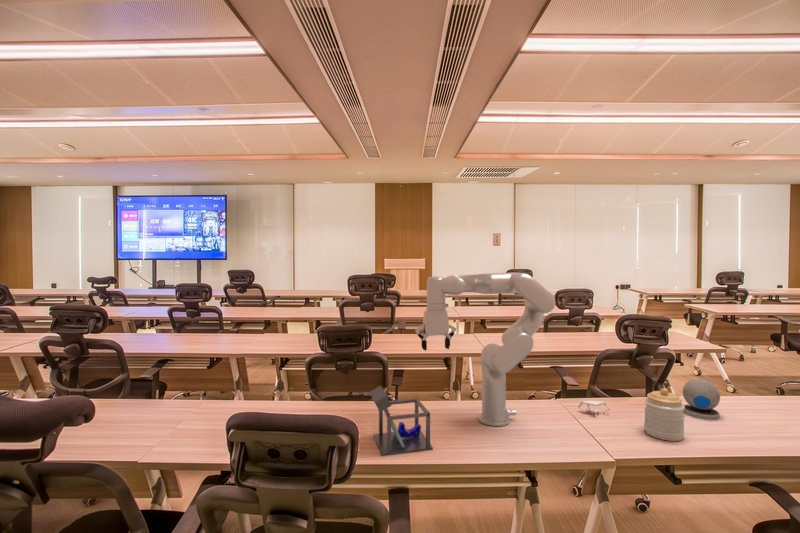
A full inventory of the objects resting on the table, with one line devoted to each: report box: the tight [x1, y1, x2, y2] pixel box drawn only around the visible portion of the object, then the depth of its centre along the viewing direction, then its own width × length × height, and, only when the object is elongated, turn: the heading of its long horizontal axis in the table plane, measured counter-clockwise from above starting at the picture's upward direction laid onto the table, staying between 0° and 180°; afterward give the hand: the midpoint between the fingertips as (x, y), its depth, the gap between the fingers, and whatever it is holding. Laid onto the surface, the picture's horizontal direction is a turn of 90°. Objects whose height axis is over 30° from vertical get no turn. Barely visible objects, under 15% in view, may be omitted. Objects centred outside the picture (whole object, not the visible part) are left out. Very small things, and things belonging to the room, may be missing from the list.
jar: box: [643, 388, 685, 442], centre depth 155 cm, size 13×13×18 cm
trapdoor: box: [369, 385, 405, 448], centre depth 147 cm, size 19×12×5 cm
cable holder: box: [397, 421, 422, 438], centre depth 150 cm, size 8×4×4 cm, turn 107°
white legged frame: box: [577, 399, 611, 418], centre depth 176 cm, size 12×8×5 cm
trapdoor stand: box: [372, 398, 434, 457], centre depth 148 cm, size 18×16×13 cm
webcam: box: [682, 378, 721, 421], centre depth 175 cm, size 13×13×15 cm
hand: (435, 349), depth 165 cm, fingers open, 9 cm apart
